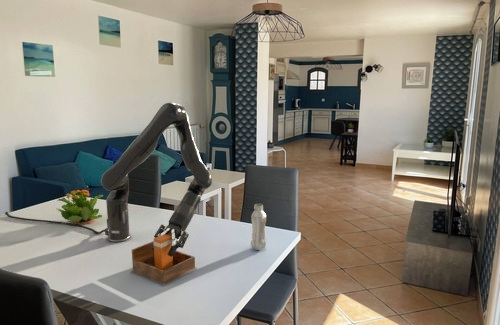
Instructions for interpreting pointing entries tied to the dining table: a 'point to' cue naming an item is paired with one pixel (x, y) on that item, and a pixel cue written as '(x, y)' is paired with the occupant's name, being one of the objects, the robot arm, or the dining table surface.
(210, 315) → the dining table surface
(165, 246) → the packet
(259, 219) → the plastic bottle
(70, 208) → the potted flower
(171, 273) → the drawer
